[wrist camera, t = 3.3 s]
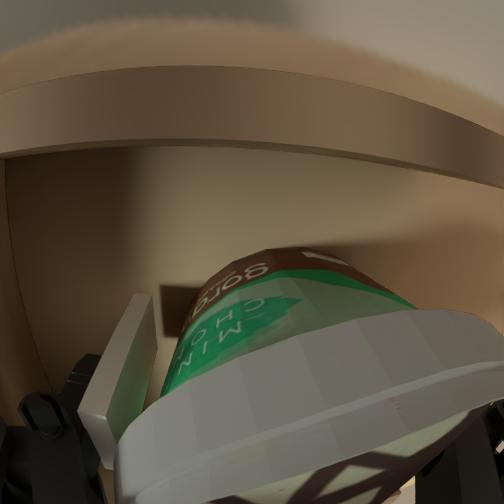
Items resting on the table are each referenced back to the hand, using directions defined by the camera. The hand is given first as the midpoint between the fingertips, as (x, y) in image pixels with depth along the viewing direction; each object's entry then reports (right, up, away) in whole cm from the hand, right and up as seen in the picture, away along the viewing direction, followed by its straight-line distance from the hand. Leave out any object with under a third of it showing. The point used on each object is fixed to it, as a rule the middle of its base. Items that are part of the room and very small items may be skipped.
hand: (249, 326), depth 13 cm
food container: (-1, 0, +1) cm, 1 cm away
